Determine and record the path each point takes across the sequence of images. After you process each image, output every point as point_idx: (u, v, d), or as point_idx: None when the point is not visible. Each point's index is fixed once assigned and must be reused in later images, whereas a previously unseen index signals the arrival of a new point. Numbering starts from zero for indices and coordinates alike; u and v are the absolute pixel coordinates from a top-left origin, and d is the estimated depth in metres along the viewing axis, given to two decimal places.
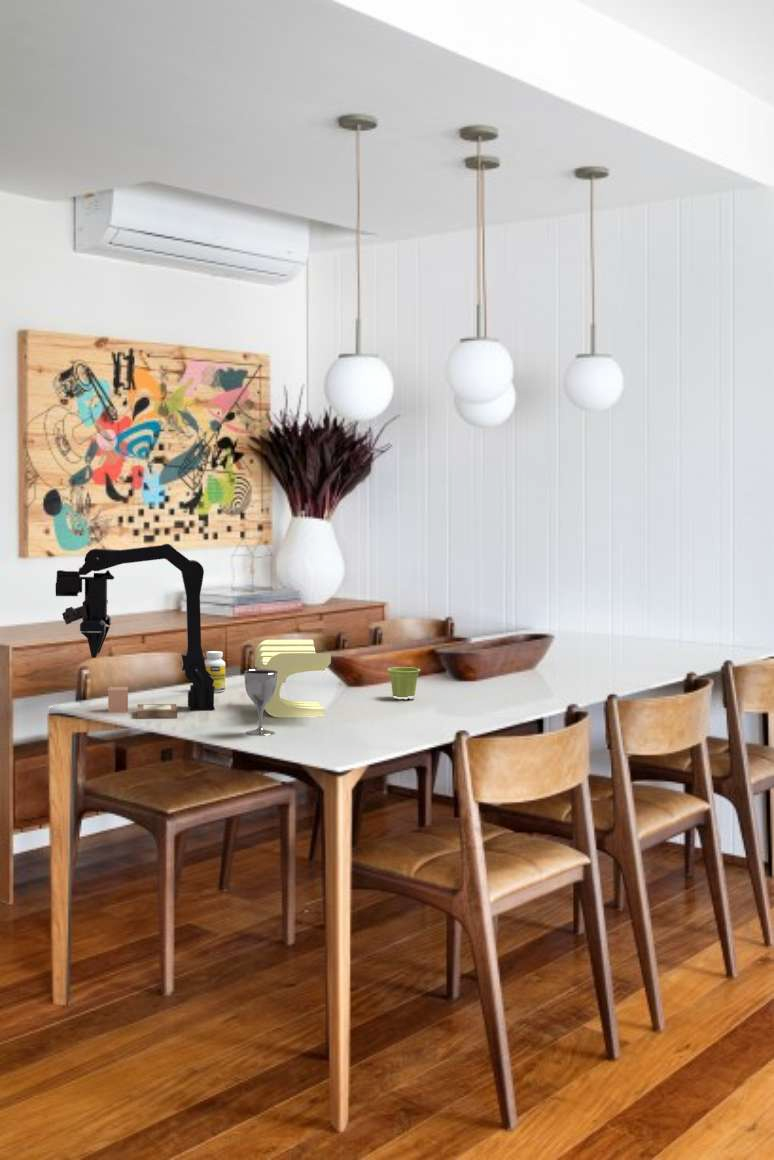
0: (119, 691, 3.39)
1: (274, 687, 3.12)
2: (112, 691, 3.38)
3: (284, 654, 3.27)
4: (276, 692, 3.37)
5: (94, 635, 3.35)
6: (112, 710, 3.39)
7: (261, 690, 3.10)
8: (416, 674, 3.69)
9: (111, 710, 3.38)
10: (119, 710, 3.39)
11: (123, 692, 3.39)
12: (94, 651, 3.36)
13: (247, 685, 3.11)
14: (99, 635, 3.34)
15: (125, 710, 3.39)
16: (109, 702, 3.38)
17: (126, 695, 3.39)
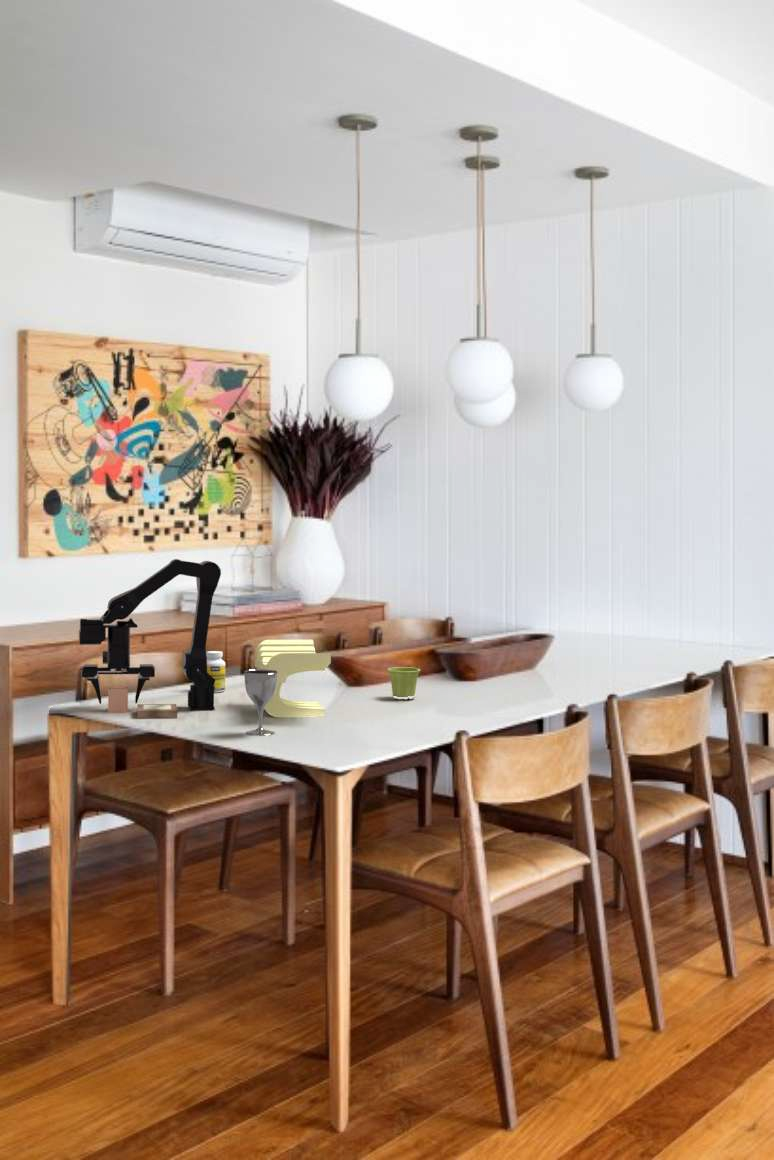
0: (119, 691, 3.39)
1: (274, 687, 3.12)
2: (112, 691, 3.38)
3: (284, 654, 3.27)
4: (276, 692, 3.37)
5: None
6: (112, 710, 3.39)
7: (261, 690, 3.10)
8: (416, 674, 3.69)
9: (111, 710, 3.38)
10: (119, 710, 3.39)
11: (123, 692, 3.39)
12: None
13: (247, 685, 3.11)
14: None
15: (125, 710, 3.39)
16: (109, 702, 3.38)
17: (126, 695, 3.39)
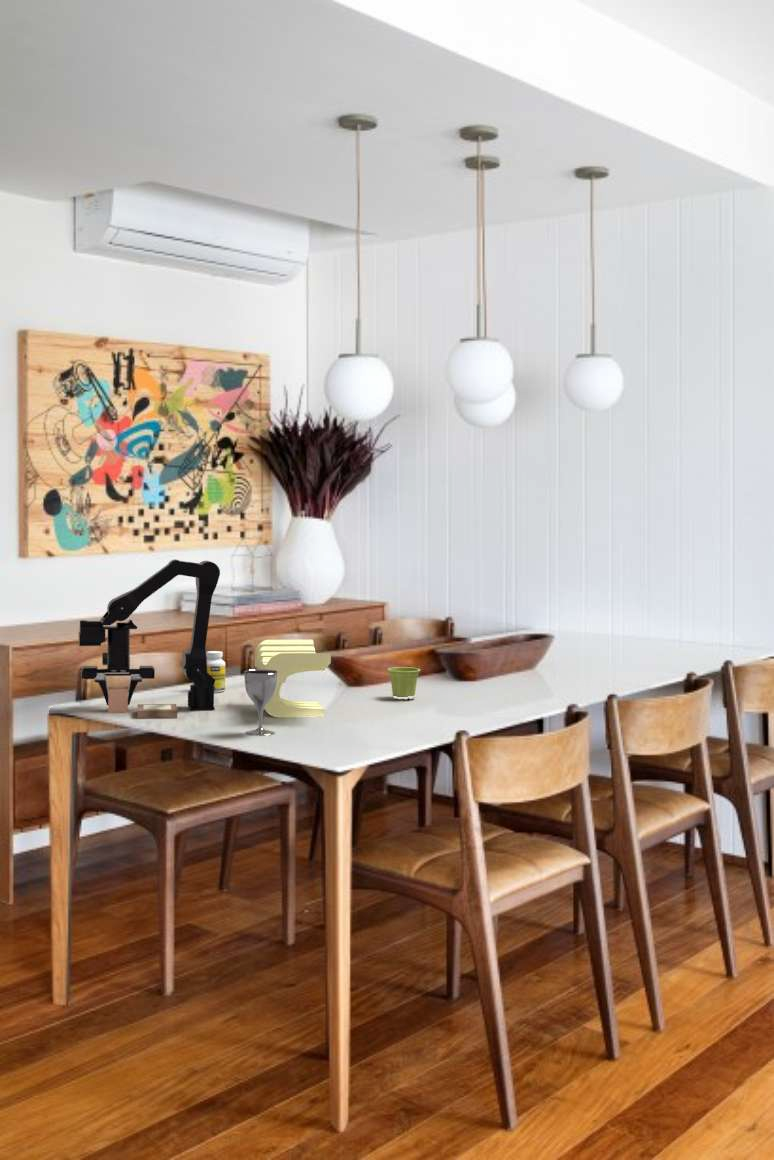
0: (119, 691, 3.39)
1: (274, 687, 3.12)
2: (112, 691, 3.38)
3: (284, 654, 3.27)
4: (276, 692, 3.37)
5: None
6: (112, 710, 3.39)
7: (261, 690, 3.10)
8: (416, 674, 3.69)
9: (111, 710, 3.38)
10: (119, 710, 3.39)
11: (123, 692, 3.39)
12: (105, 698, 3.40)
13: (247, 685, 3.11)
14: None
15: (125, 710, 3.39)
16: (109, 702, 3.38)
17: (126, 695, 3.39)
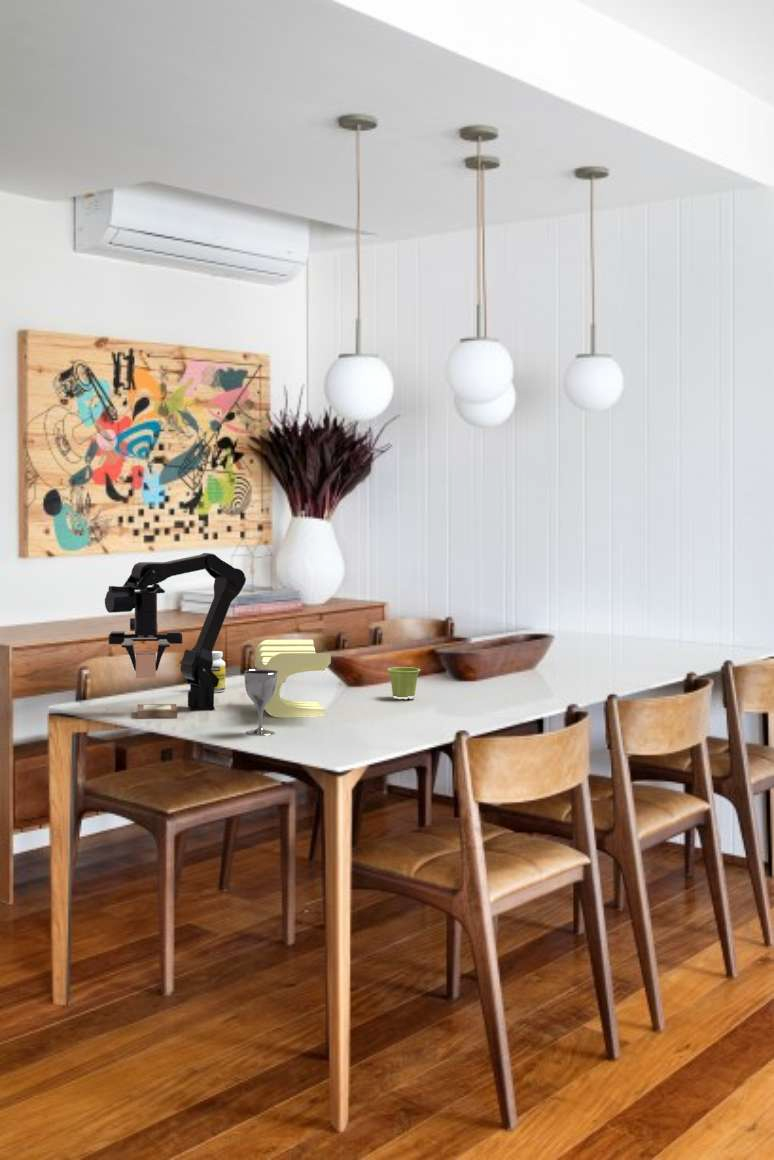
0: (147, 656, 3.34)
1: (274, 687, 3.12)
2: (139, 656, 3.34)
3: (284, 654, 3.27)
4: (276, 692, 3.37)
5: None
6: (140, 675, 3.34)
7: (261, 690, 3.10)
8: (416, 674, 3.69)
9: (139, 675, 3.34)
10: (147, 675, 3.35)
11: (151, 657, 3.34)
12: None
13: (247, 685, 3.11)
14: None
15: (153, 675, 3.35)
16: (136, 667, 3.34)
17: (154, 660, 3.35)
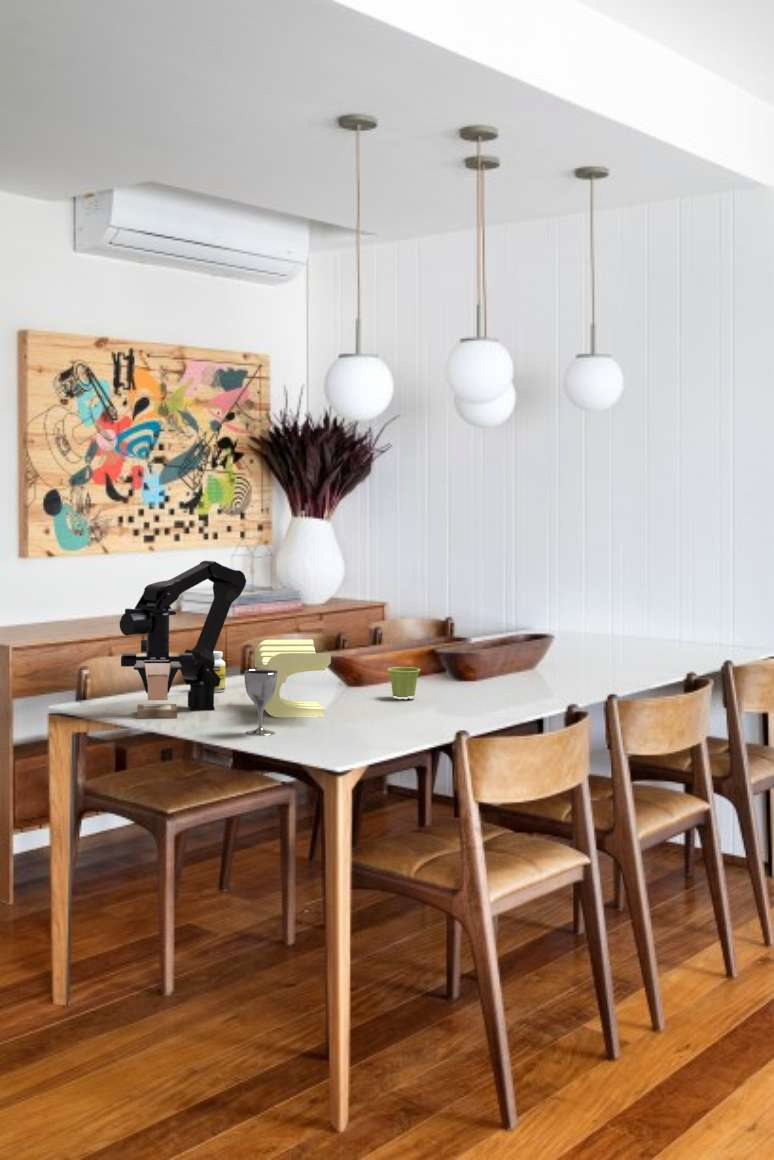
0: (159, 678, 3.33)
1: (274, 687, 3.12)
2: (152, 678, 3.32)
3: (284, 654, 3.27)
4: (276, 692, 3.37)
5: None
6: (152, 698, 3.33)
7: (261, 690, 3.10)
8: (416, 674, 3.69)
9: (151, 698, 3.33)
10: (159, 698, 3.33)
11: (163, 679, 3.33)
12: (144, 686, 3.35)
13: (247, 685, 3.11)
14: None
15: (165, 698, 3.33)
16: (148, 690, 3.33)
17: (166, 683, 3.33)
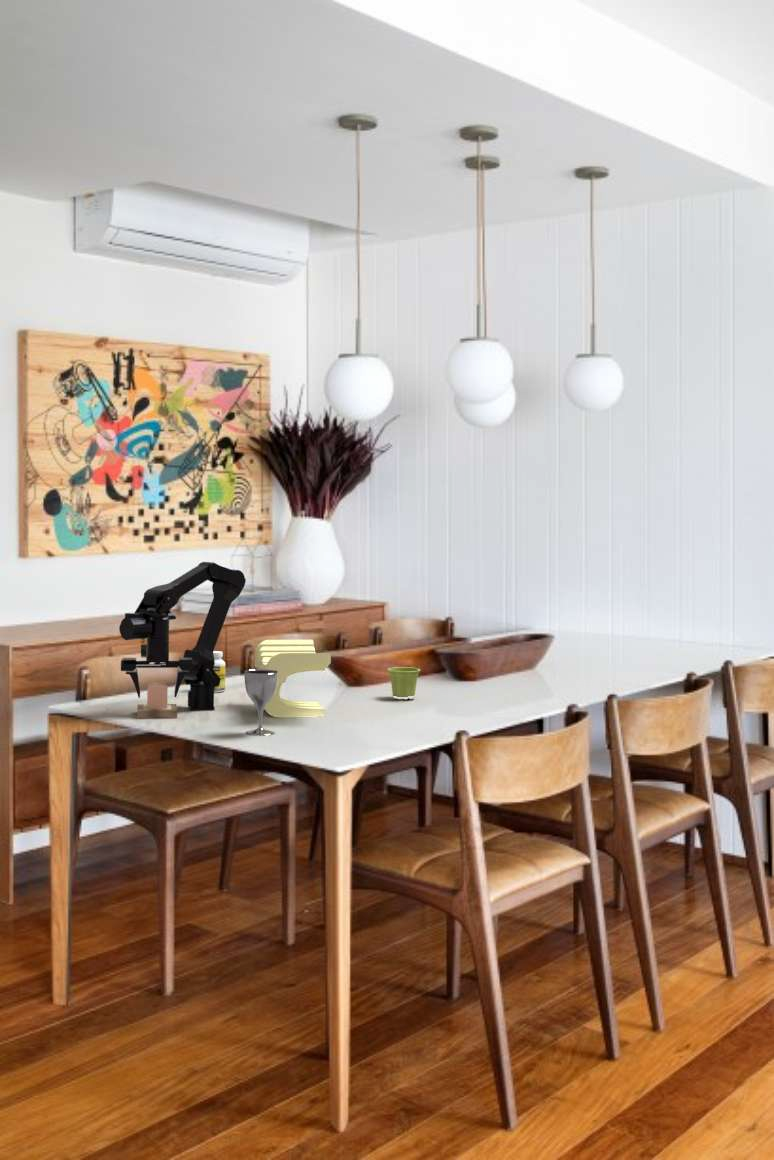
0: (159, 687, 3.33)
1: (274, 687, 3.12)
2: (151, 687, 3.33)
3: (284, 654, 3.27)
4: (276, 692, 3.37)
5: None
6: (151, 706, 3.33)
7: (261, 690, 3.10)
8: (416, 674, 3.69)
9: (150, 706, 3.33)
10: (158, 706, 3.33)
11: (163, 688, 3.33)
12: None
13: (247, 685, 3.11)
14: None
15: (165, 706, 3.34)
16: (148, 698, 3.33)
17: (166, 691, 3.33)
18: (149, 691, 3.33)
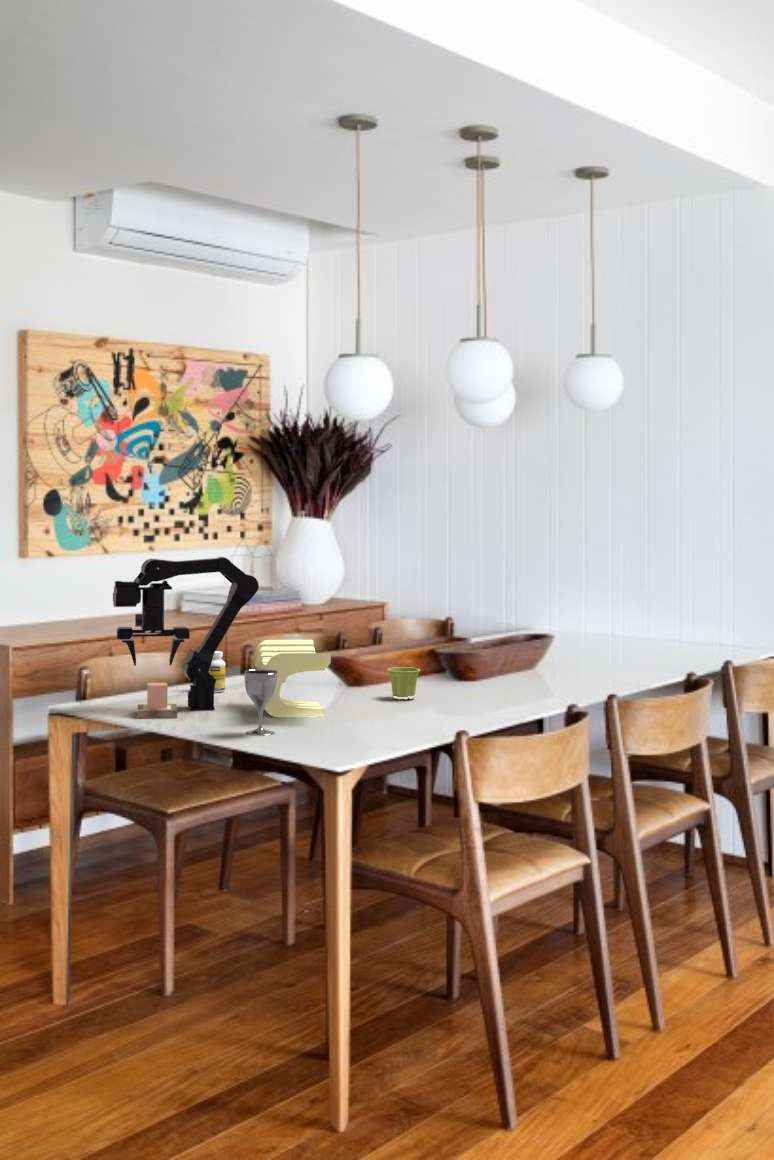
0: (159, 687, 3.33)
1: (274, 687, 3.12)
2: (151, 687, 3.33)
3: (284, 654, 3.27)
4: (276, 692, 3.37)
5: None
6: (151, 706, 3.33)
7: (261, 690, 3.10)
8: (416, 674, 3.69)
9: (150, 706, 3.33)
10: (158, 706, 3.33)
11: (163, 688, 3.33)
12: None
13: (247, 685, 3.11)
14: None
15: (165, 706, 3.34)
16: (148, 698, 3.33)
17: (166, 691, 3.33)
18: (149, 691, 3.33)
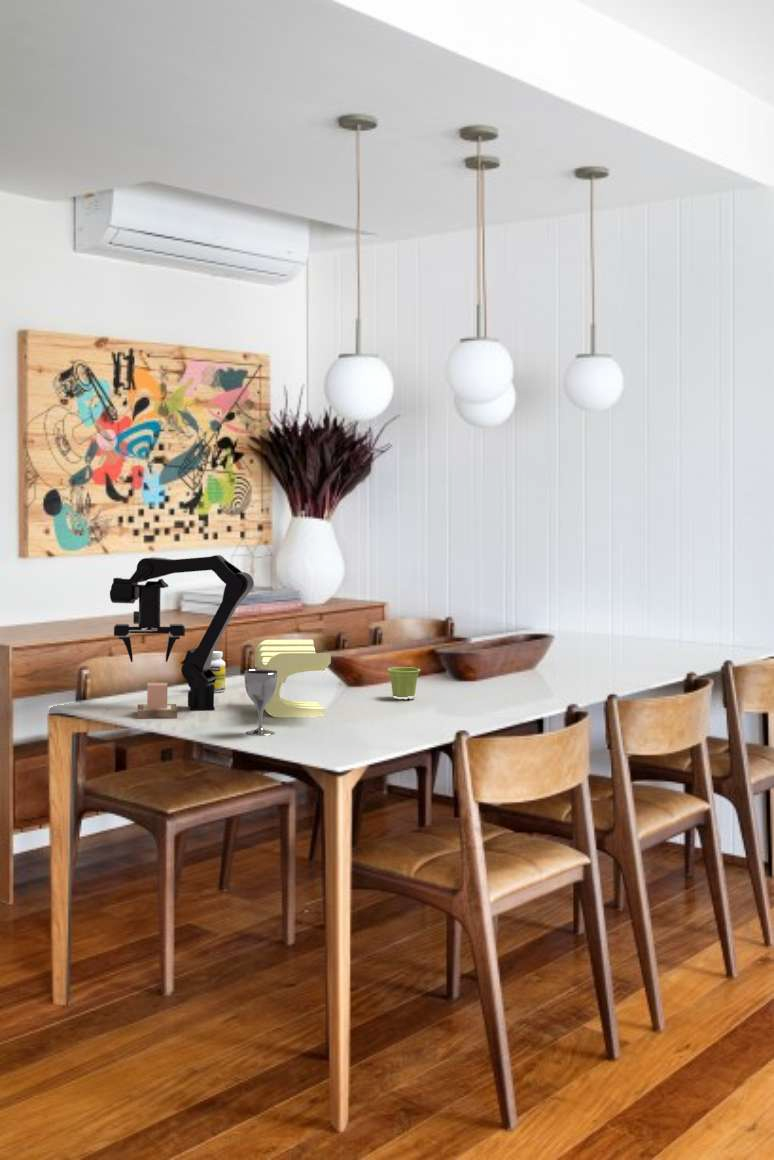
0: (159, 687, 3.33)
1: (274, 687, 3.12)
2: (151, 687, 3.33)
3: (284, 654, 3.27)
4: (276, 692, 3.37)
5: None
6: (151, 706, 3.33)
7: (261, 690, 3.10)
8: (416, 674, 3.69)
9: (150, 706, 3.33)
10: (158, 706, 3.33)
11: (163, 688, 3.33)
12: (129, 655, 3.48)
13: (247, 685, 3.11)
14: None
15: (165, 706, 3.34)
16: (148, 698, 3.33)
17: (166, 691, 3.33)
18: (149, 691, 3.33)
